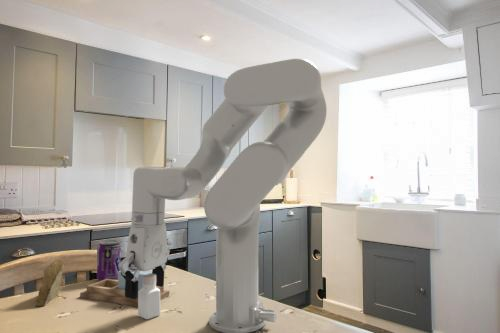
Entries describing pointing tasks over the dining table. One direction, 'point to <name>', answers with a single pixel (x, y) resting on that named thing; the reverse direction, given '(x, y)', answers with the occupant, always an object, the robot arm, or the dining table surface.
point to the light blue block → (122, 282)
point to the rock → (50, 283)
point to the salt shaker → (149, 297)
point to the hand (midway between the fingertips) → (145, 291)
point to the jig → (113, 292)
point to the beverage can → (108, 259)
